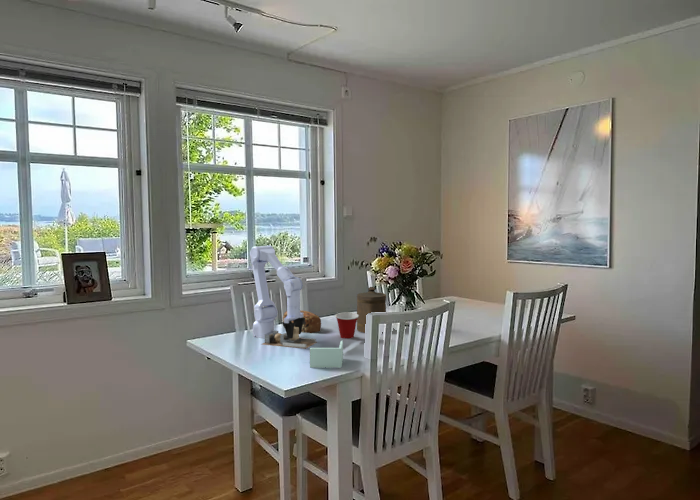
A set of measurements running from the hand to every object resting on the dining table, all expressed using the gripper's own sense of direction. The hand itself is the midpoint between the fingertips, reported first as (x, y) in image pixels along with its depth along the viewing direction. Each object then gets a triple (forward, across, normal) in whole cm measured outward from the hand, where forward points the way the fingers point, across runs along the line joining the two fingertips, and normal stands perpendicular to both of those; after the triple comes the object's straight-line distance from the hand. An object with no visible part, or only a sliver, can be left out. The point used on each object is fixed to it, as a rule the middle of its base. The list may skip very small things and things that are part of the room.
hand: (294, 336), depth 219 cm
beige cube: (+3, 0, +1) cm, 4 cm away
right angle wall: (+5, -17, -23) cm, 29 cm away
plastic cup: (+5, +19, -18) cm, 26 cm away
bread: (+5, +30, +12) cm, 33 cm away
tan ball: (+3, 0, +8) cm, 9 cm away
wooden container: (+5, +42, -22) cm, 47 cm away
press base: (+5, 0, +2) cm, 6 cm away
